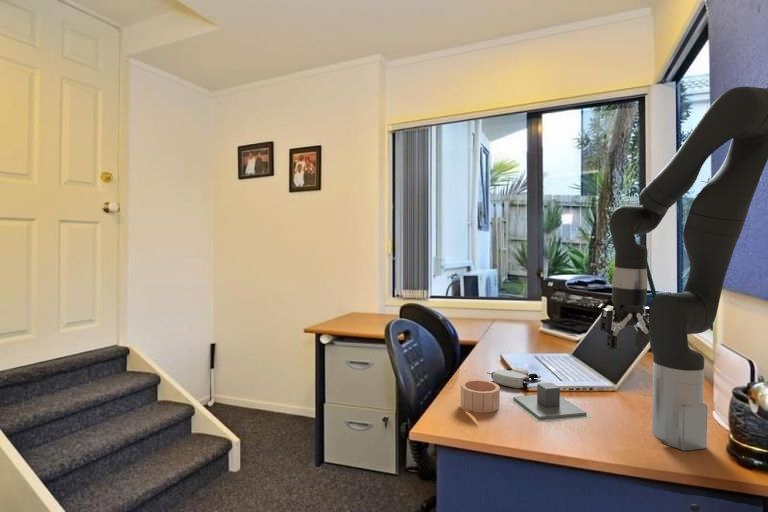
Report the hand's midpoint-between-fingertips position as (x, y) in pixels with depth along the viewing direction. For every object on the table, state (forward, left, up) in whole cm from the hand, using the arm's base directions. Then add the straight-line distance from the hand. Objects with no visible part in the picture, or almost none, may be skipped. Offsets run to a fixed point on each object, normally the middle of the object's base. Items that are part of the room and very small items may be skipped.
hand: (626, 348), depth 104 cm
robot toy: (+26, +17, -18) cm, 36 cm away
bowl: (+11, +35, -18) cm, 40 cm away
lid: (+6, +18, -17) cm, 25 cm away
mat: (+6, +18, -17) cm, 25 cm away
